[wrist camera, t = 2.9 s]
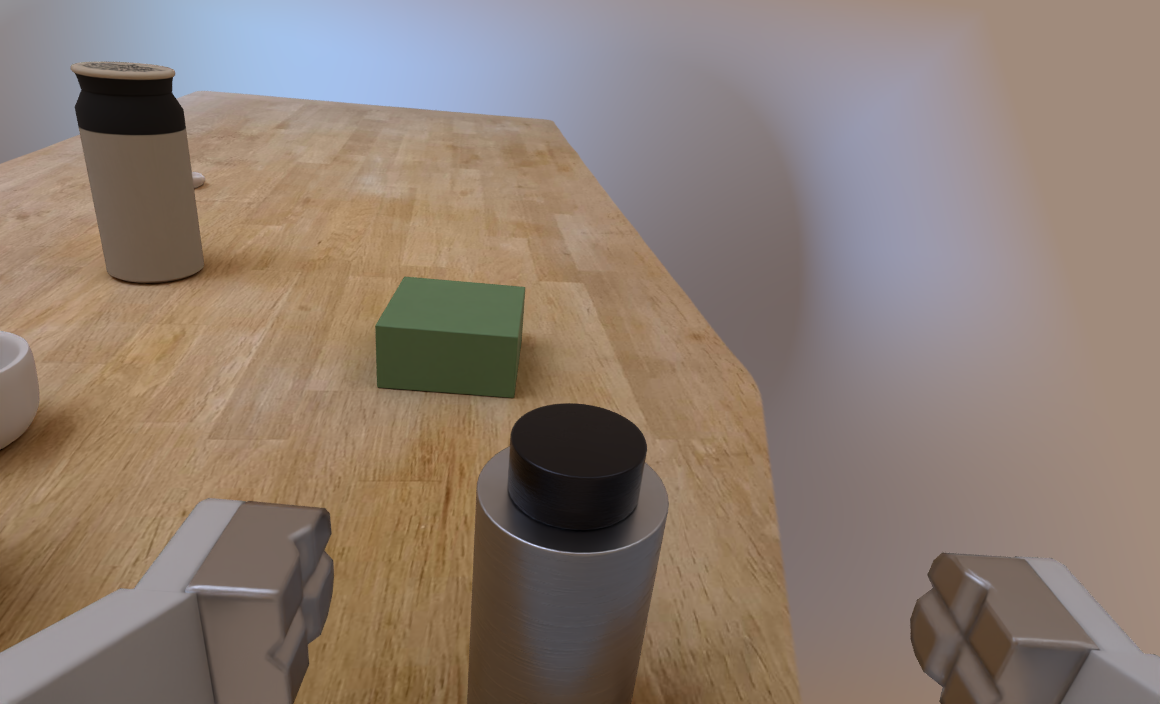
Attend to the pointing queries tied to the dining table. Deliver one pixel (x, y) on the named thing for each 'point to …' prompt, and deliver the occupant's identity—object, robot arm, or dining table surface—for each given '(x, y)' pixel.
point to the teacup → (16, 387)
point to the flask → (564, 560)
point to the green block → (451, 337)
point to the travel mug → (139, 171)
